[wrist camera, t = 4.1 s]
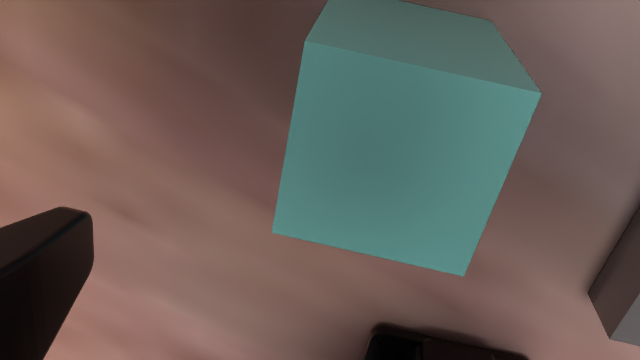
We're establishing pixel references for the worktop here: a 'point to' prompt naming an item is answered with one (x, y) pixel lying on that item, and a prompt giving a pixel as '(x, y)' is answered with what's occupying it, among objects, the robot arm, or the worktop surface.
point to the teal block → (401, 132)
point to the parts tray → (621, 288)
